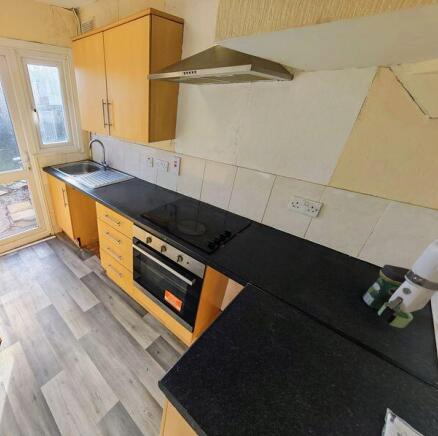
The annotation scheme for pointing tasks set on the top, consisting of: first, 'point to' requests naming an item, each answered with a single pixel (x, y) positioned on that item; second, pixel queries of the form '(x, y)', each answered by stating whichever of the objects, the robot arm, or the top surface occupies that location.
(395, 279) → the coffee jar
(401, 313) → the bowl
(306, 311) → the top surface
